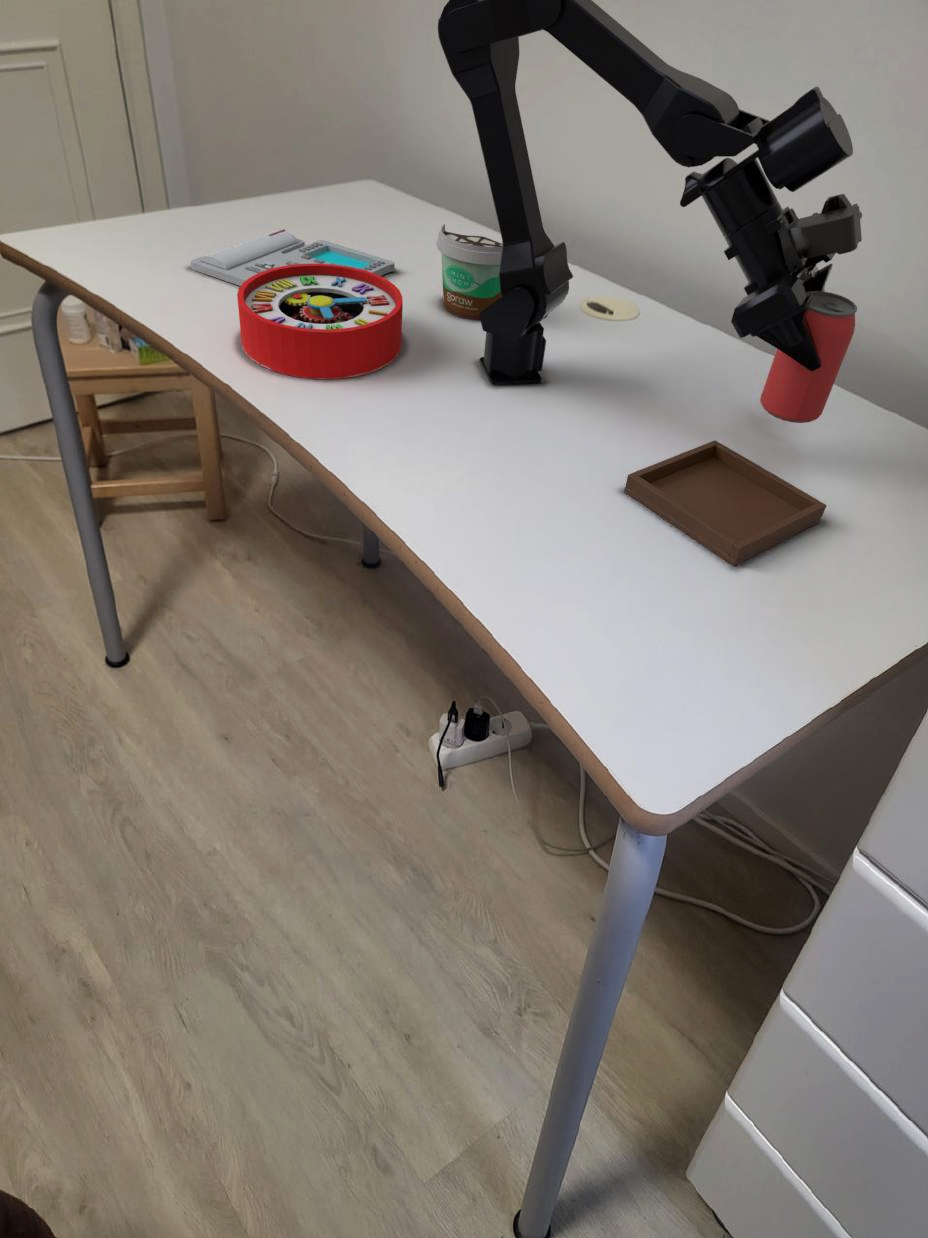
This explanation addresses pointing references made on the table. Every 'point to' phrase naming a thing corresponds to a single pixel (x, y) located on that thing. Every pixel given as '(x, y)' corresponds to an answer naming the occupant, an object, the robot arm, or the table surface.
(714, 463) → the tray
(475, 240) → the food container
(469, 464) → the table surface
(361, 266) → the office telephone
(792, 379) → the beer can
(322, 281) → the toy clock
